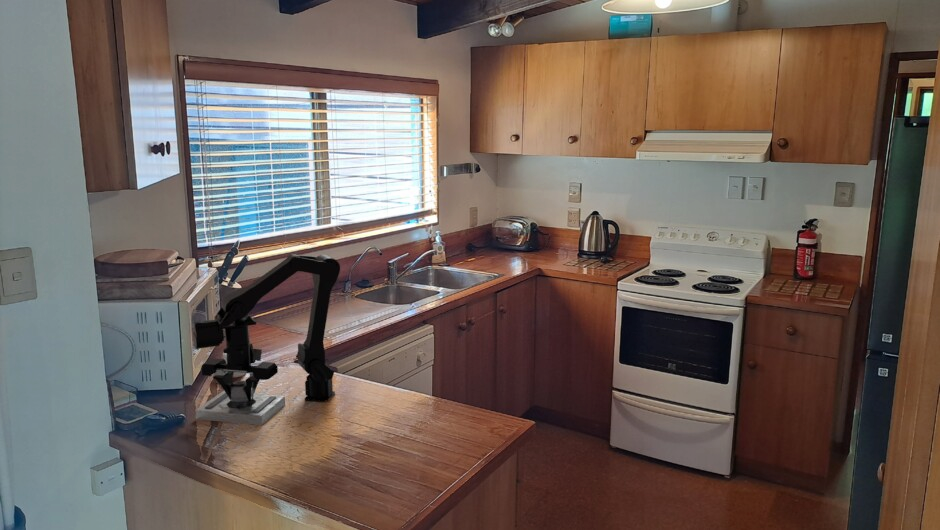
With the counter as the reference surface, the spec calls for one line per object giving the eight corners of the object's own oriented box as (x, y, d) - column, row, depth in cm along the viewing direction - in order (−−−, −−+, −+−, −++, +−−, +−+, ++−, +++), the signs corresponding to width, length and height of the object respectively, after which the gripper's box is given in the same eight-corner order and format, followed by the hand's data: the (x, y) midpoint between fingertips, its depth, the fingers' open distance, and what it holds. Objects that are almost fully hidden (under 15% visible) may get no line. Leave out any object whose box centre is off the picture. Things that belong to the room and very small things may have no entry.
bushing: (255, 403, 178) (253, 381, 177) (245, 410, 173) (244, 388, 172) (237, 401, 179) (236, 379, 178) (227, 409, 174) (226, 386, 173)
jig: (285, 404, 181) (284, 395, 181) (261, 425, 169) (261, 414, 168) (223, 399, 184) (222, 390, 184) (196, 419, 172) (195, 408, 171)
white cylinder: (223, 379, 200) (221, 356, 198) (224, 371, 206) (223, 349, 205) (247, 376, 202) (246, 354, 200) (248, 369, 208) (247, 347, 207)
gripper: (285, 335, 179) (288, 391, 182) (221, 331, 182) (224, 386, 185) (265, 348, 168) (269, 407, 171) (197, 344, 172) (202, 401, 175)
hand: (241, 400), depth 176 cm, fingers closed on bushing, 5 cm apart
